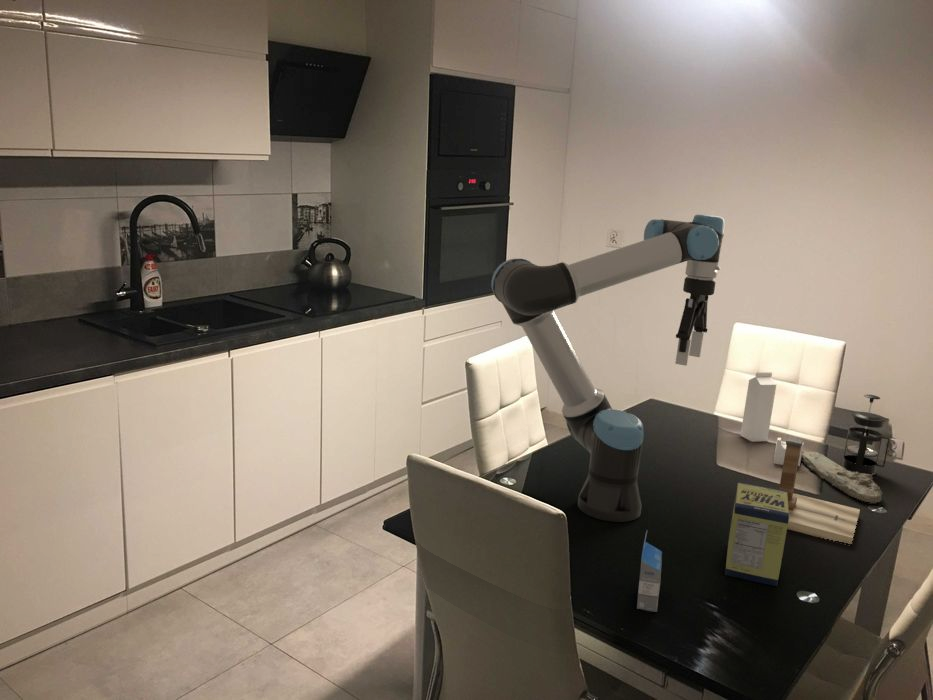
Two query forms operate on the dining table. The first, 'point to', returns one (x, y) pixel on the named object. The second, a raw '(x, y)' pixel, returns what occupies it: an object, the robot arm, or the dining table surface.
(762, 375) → the milk
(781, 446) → the bracket
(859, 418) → the french press
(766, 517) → the protein box
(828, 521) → the pine board
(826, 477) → the elongated rock
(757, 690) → the dining table surface
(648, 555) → the label tape box
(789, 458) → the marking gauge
